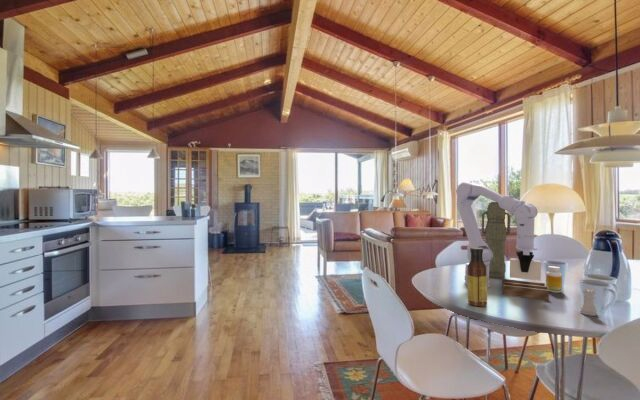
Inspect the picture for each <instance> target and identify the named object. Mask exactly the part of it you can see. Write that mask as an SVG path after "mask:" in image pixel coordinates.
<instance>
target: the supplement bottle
mask: <svg viewBox="0 0 640 400" xmlns="http://www.w3.org/2000/svg"><path fill="white" fill-rule="evenodd" d="M547 270H548V271H546V272H545V286H547V290H549V293H554V294H555V293H556V294H557V293H562V286H563V285H562V284H563V281H562V280H563V274H562V273H561V267H560V266H554V265H548V266H547Z"/></svg>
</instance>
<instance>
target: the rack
mask: <svg viewBox="0 0 640 400" xmlns="http://www.w3.org/2000/svg"><path fill="white" fill-rule="evenodd" d="M501 289H502V290H501V291H502V295H505V296H512V297H513V296H515V297H519V298H520V297H521V298H528V299H529V298H530V299H536V300H545V301H549V300H550V291H549V290H547V286H546V282H540V281H539V282H536V281H528V280H518V279H511V278H510V279H509V278H504V279H501Z"/></svg>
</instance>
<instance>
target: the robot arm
mask: <svg viewBox="0 0 640 400" xmlns="http://www.w3.org/2000/svg"><path fill="white" fill-rule="evenodd" d="M455 192H456V196H457V199H456V205H457V206H456V207H457V210H458V212H459V216H460V218H461V222H462V224H463V227H464V230H465V234H466V237H467V240H468V245H467V247H466V250H467V256H466V257H467V259H468V261H469V262H465V272H464V273H465V275H464V285H466V286H468V282H467V274H468V264H469V263H470V261H471V252H470V248H471V247H479V248H483V253H482V259H483V262H484V264H485V266H486V275H487V288H491V282H490V278H489V264H490V261H491V260H492V258H493V253H492V251H491V250H490V249H489V247H488V245H487V243H486V241H484V239H483V237H482V234H481V232H480V231H481V230H480V228H479V225H478V222H477V220H476V217H475V213H474V211H473V210H474V209H473V206H472V205H473V203H474V202H476V200H477V199H478V198H479V197H480V196H482V197H484V198H486V199H488V200H491V201H492V202H498V203H499V206H500V207H501V208H503V209H505V212H507V213H510V214H512V215H514V217H515V218H516V243H515V245H516V246H515V249H516V250H517V251H515V253H516V256H517V259H519V261H520V267H521V272H527V273H528V271H529V267H530V263H531V260H534V259H533V258H534V257H535V254H534V253H533V251H538V248H537V247H534V244H535V243H534V242H535V218H536V217H537V215H538V208H537V207H536V206H535V205H534V204H532V203H526V201H525V200H520V199H518V198H515V195H513V194H505V195H503V194H501V193H498V192H497V191H494V190H493V189H491V188H489V187H487V186H485V185H484V184H481V183H478V182H463V181H462V182H461V183H460V184H459V185H458V186H457V188H456V189H455Z"/></svg>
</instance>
